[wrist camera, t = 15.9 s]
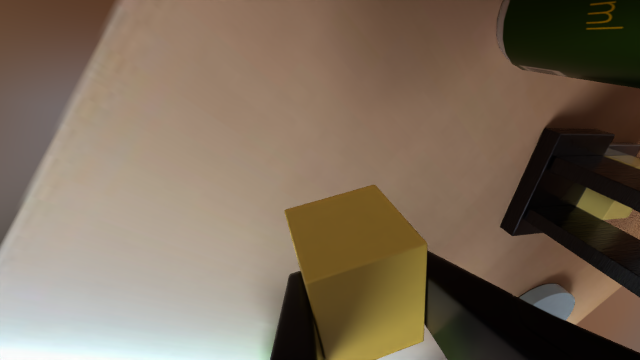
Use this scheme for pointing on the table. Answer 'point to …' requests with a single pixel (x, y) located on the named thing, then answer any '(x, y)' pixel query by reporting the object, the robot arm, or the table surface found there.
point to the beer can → (573, 38)
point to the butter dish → (602, 204)
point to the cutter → (563, 194)
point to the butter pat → (361, 273)
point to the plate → (551, 300)
